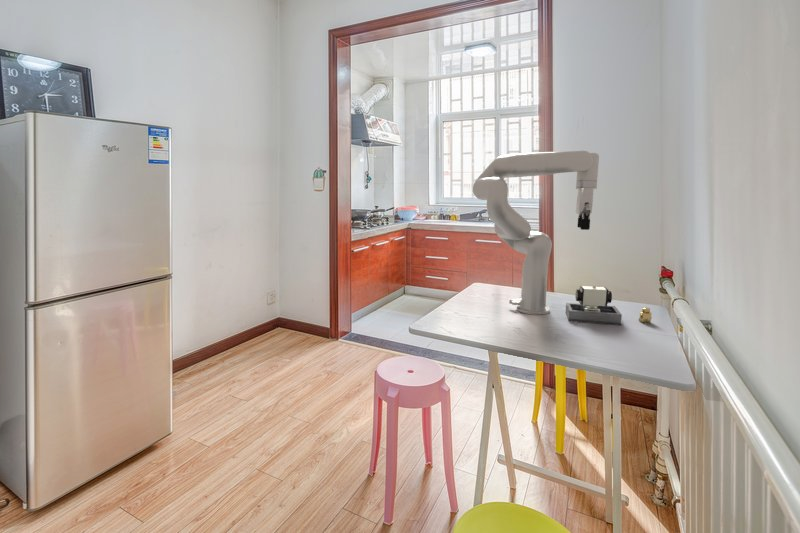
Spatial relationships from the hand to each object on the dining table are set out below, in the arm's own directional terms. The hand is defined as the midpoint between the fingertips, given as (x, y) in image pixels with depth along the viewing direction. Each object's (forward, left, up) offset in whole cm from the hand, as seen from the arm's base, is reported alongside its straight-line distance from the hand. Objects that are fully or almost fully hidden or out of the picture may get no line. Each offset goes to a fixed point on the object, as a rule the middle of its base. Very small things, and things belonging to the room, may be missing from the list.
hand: (583, 228), depth 168 cm
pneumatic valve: (+3, -17, -32) cm, 36 cm away
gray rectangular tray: (+3, -18, -32) cm, 37 cm away
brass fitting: (+21, -17, -32) cm, 42 cm away
